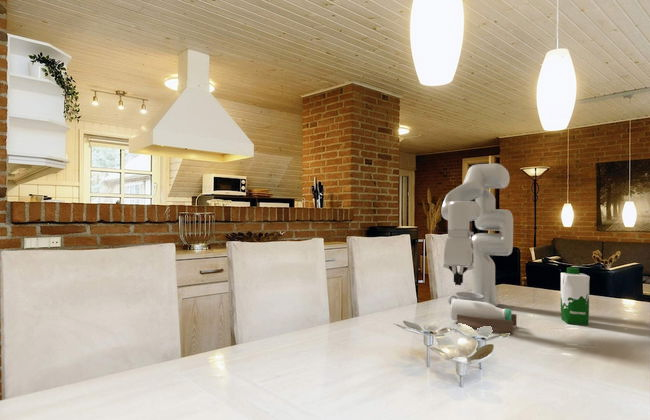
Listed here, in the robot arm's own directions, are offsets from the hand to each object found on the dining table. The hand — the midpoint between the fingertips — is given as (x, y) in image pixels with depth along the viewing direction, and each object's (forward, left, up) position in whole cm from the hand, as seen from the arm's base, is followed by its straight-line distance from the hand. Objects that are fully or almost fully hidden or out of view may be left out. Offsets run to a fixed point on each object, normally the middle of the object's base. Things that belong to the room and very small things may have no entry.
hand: (458, 284), depth 155 cm
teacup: (-17, -1, -14) cm, 22 cm away
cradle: (0, +10, -14) cm, 17 cm away
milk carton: (-25, +37, -14) cm, 47 cm away
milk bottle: (-1, -2, -10) cm, 10 cm away
